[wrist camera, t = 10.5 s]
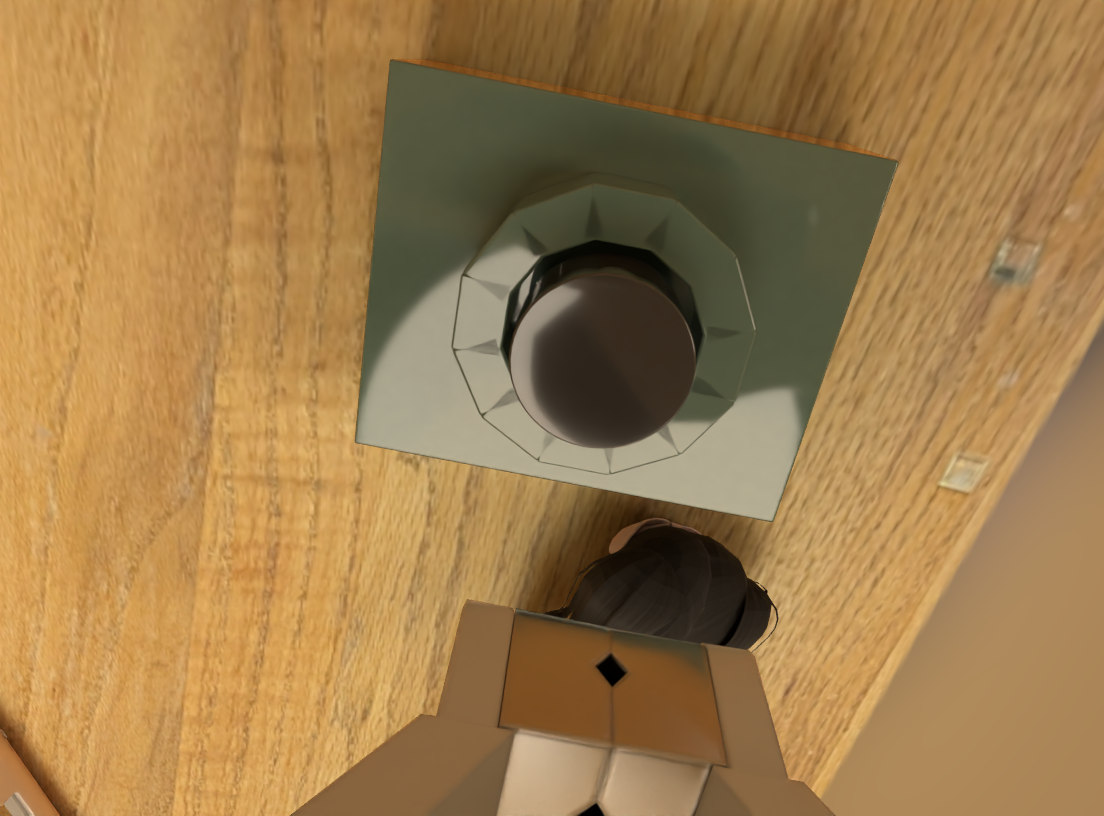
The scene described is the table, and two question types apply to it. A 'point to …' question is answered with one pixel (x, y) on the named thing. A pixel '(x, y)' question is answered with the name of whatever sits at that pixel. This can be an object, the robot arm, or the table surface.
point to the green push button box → (606, 226)
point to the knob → (602, 351)
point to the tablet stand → (20, 785)
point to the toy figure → (671, 588)
